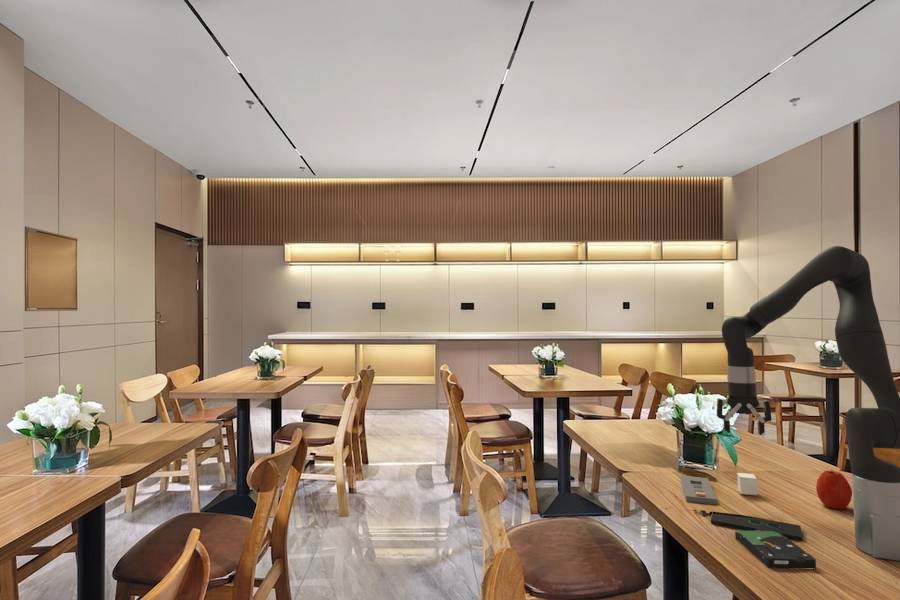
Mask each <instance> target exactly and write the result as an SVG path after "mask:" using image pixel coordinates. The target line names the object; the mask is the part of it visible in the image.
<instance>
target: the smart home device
mask: <svg viewBox="0 0 900 600" xmlns="http://www.w3.org/2000/svg"><path fill="white" fill-rule="evenodd" d="M710 524H711V525H714V526H720V527H724V528H729V529H735V530H746V531H748V530H749V531H755V530H775V531H778V532H780V533H781V534H783V535H784V536H785V537H786V538H788V539H789V540H791V541H795V540H796V542H803V533H802V526H801V525H799V524H794V523H788V522H783V521H778V520H773V519H765V518H760V517H756V516H749V515H744V514H737V513H736V514H735V513H728V512H720V511H712V513H711V517H710Z"/></svg>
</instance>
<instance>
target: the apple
mask: <svg viewBox="0 0 900 600" xmlns="http://www.w3.org/2000/svg"><path fill="white" fill-rule="evenodd" d="M851 487H852V486H851V485H850V483H849V482H848V480H847V478H846V477H845V476H844V475H843V474H842V473H841V472H839V471H834V470H824V471H823V472H822V473H820V475H819V476H818V478H817V479H816V487H815V489H816V495H817V497H818V499H819V500H820V502H821V504H823V505H824V506H825V507H827V508H831V509H834V508H835V509H836V510H845V509H846V508H847V507H848V506H849V505H850V503H851V501H852V498H853V488H851Z"/></svg>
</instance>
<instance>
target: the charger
mask: <svg viewBox="0 0 900 600" xmlns="http://www.w3.org/2000/svg"><path fill="white" fill-rule="evenodd" d="M736 474H737V475H736V476H737V477H736V478H737V479H736V480H737V490H738V492H739V493H740V494H741V495H745V496H746V495H747V496H758V495H759V494H758V479H757V477H756V476H755V474H753V473H746V472H745V473H744V472H737V473H736Z"/></svg>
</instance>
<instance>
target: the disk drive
mask: <svg viewBox="0 0 900 600" xmlns="http://www.w3.org/2000/svg"><path fill="white" fill-rule="evenodd" d="M734 533H735V535H734V537H735V539H736V540H737V542H739V543H740V544H741V545H742V546H744V548H746V549H747V550H748V551H749V552H750V553H751V554H752V555H753V556H754V555H755V557H756V558H757V560H759V561H760V562H761V563H762V564H763V563H764V564H765V565H766V566H765V565H764V564H763V565H764V566H765V567H767V568H769V569H789V568H813V569H812V570H817V560H816V558H815V557H814V556H812V555H811V554H810V553H808V552H806V551H805V550H803V549H802V548H801V547H800V546H799V545H797V544H795V543H794V542H793V540H790V539H788V538H786V537H785V536H784V535H783V534H781V533H780V532H778V531H775V530H755V531H749V530H748V531H746V530H739V529H736V531H735V532H734ZM814 568H815V569H814Z"/></svg>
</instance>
